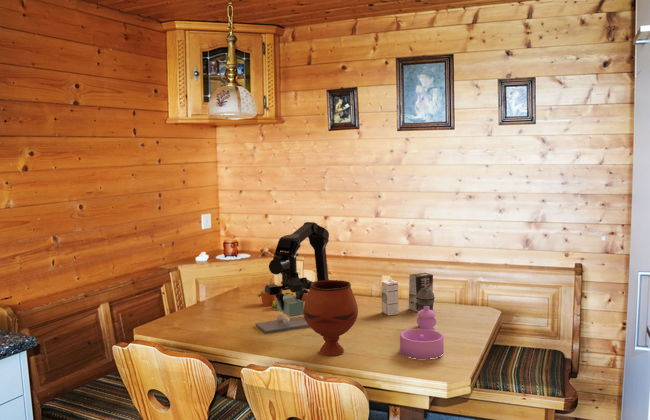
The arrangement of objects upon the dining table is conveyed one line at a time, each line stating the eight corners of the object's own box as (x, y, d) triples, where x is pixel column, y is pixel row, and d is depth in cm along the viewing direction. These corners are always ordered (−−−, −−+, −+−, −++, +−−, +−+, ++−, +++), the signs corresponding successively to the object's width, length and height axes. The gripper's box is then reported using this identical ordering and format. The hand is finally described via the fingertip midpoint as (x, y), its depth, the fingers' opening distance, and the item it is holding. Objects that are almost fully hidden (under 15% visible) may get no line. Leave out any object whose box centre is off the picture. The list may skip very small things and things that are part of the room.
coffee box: (416, 312, 256) (417, 276, 254) (408, 309, 262) (408, 274, 260) (433, 309, 260) (433, 274, 259) (424, 306, 266) (424, 272, 264)
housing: (291, 307, 230) (290, 294, 230) (303, 314, 220) (303, 301, 219) (277, 309, 228) (276, 296, 227) (289, 316, 217) (289, 303, 216)
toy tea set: (278, 312, 259) (277, 291, 259) (254, 307, 269) (253, 286, 268) (315, 300, 279) (315, 281, 279) (292, 296, 289) (292, 277, 288)
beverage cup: (436, 323, 238) (436, 276, 236) (432, 328, 232) (432, 280, 230) (419, 321, 241) (419, 275, 239) (414, 326, 235) (414, 278, 233)
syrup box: (399, 314, 253) (399, 281, 252) (387, 315, 251) (387, 283, 250) (392, 311, 258) (392, 279, 257) (381, 312, 256) (381, 280, 255)
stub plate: (299, 319, 247) (299, 309, 247) (311, 326, 236) (311, 316, 236) (255, 326, 238) (255, 316, 238) (265, 333, 227) (265, 323, 227)
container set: (441, 362, 195) (441, 324, 194) (396, 358, 199) (396, 320, 198) (447, 339, 219) (448, 305, 217) (407, 336, 223) (407, 302, 222)
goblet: (294, 350, 208) (293, 282, 206) (337, 340, 219) (336, 275, 216) (324, 365, 192) (323, 292, 190) (369, 353, 203) (368, 284, 201)
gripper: (274, 276, 210) (275, 317, 212) (320, 270, 219) (320, 310, 221) (263, 270, 220) (264, 310, 222) (307, 265, 229) (308, 303, 230)
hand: (290, 308), depth 224 cm, fingers closed on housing, 6 cm apart
